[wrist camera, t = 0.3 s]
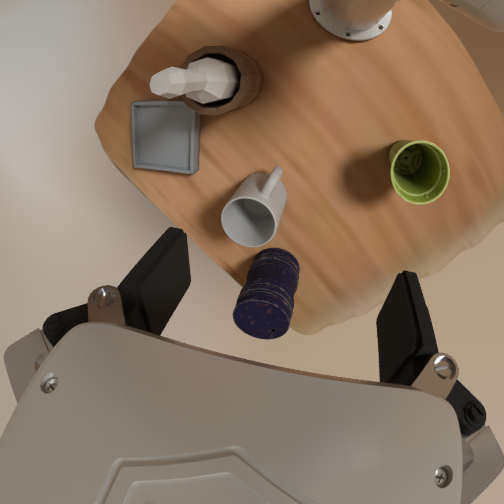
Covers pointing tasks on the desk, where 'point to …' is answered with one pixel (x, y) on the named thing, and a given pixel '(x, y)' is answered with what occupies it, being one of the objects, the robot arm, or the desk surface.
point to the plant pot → (418, 171)
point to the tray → (165, 136)
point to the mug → (255, 209)
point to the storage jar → (268, 295)
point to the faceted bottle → (198, 81)
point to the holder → (248, 83)
